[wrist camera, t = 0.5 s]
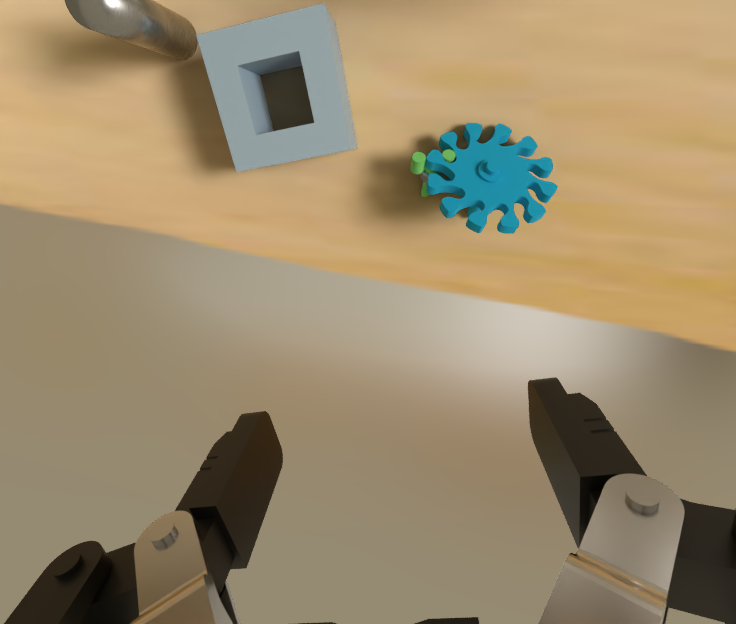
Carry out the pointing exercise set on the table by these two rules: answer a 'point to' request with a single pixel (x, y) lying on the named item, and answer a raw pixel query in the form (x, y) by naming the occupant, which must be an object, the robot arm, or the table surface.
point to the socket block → (272, 54)
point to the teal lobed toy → (486, 177)
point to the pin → (138, 24)
